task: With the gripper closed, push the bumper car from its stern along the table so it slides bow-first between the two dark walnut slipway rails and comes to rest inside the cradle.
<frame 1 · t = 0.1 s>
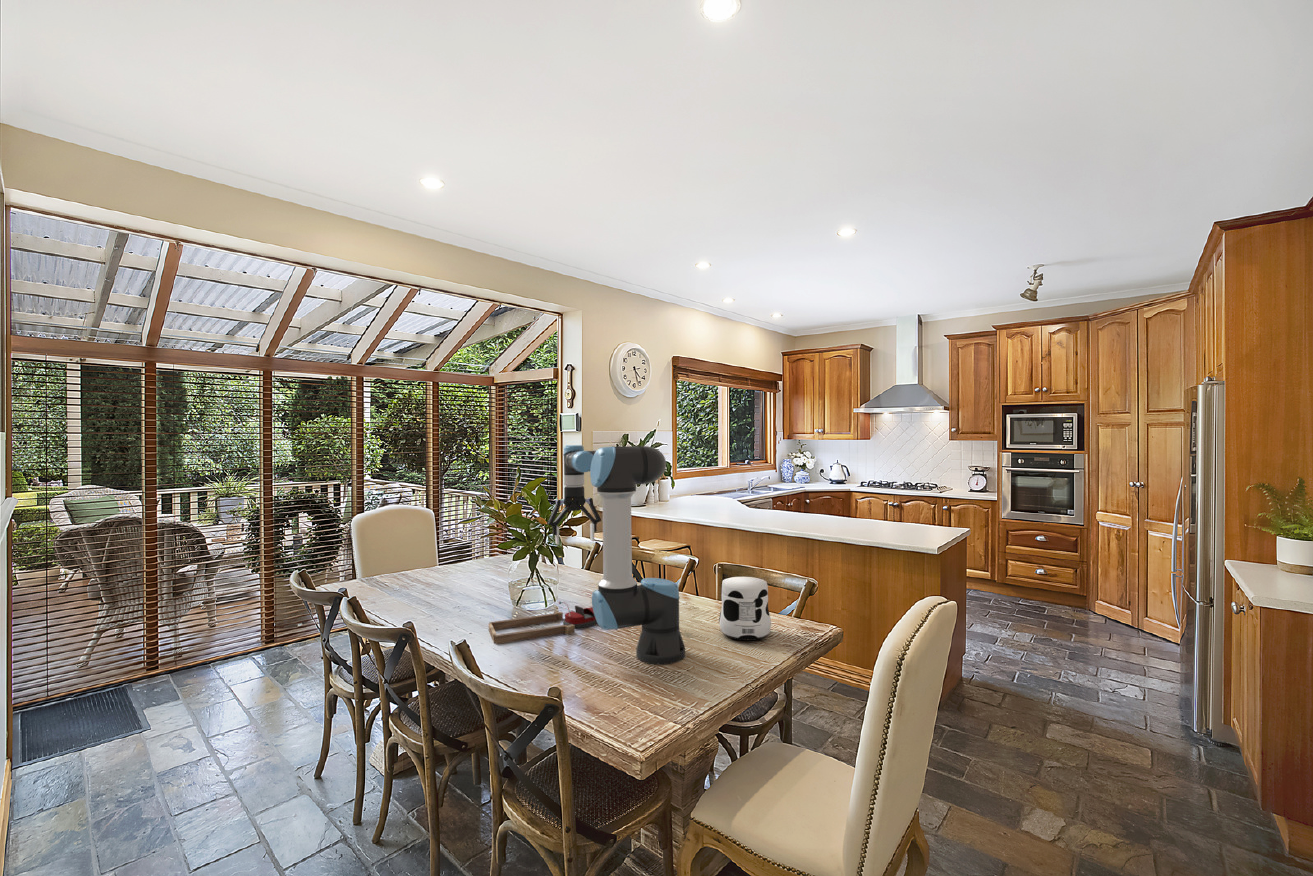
hand: (575, 542, 217), 28 cm above the table, fingers open, 13 cm apart
cradle: (533, 630, 202), on the table
bumper car: (583, 624, 209), on the table
milk container: (745, 635, 194), on the table
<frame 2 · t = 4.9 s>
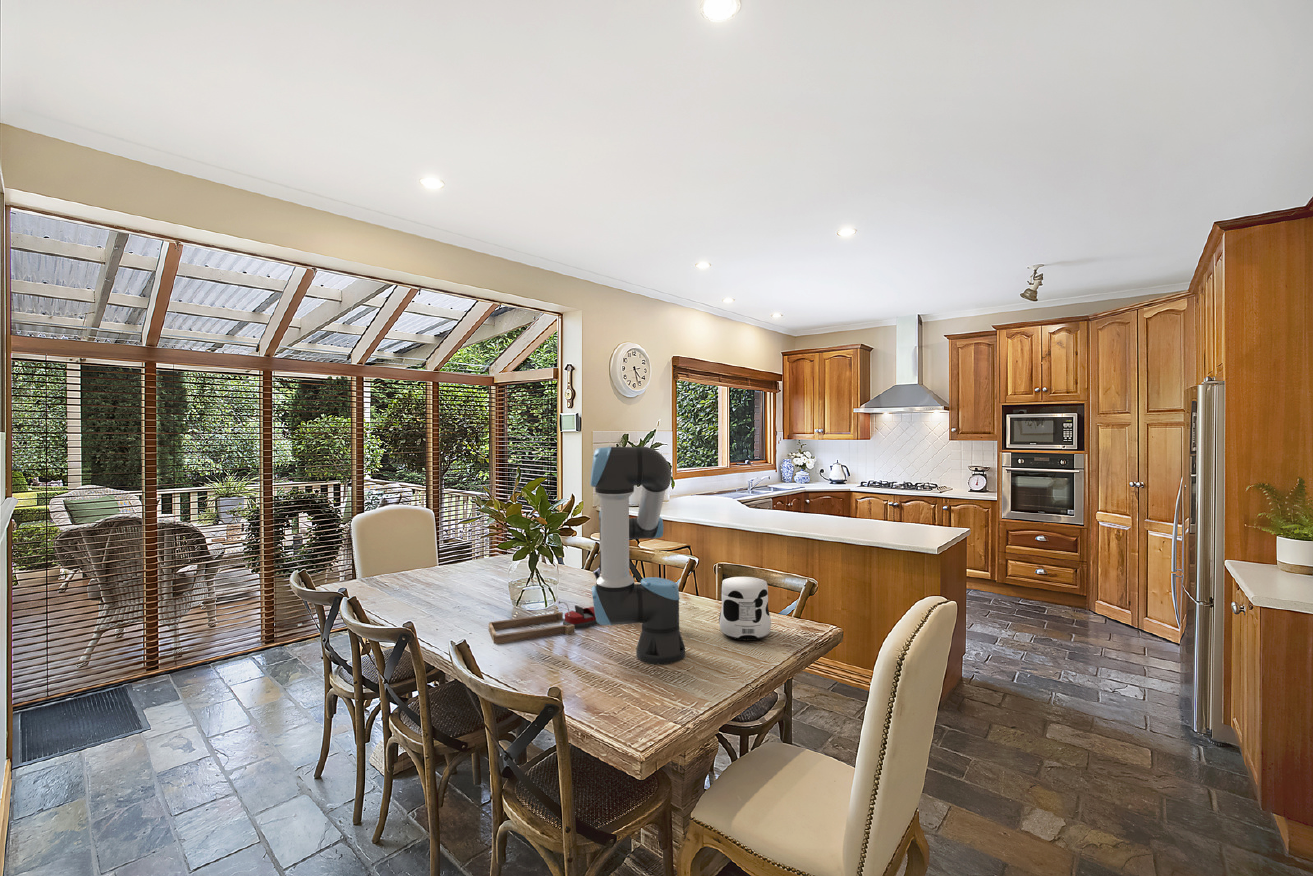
hand: (610, 614, 213), 2 cm above the table, fingers closed
bumper car: (583, 624, 209), on the table, touching gripper
everything else where it was.
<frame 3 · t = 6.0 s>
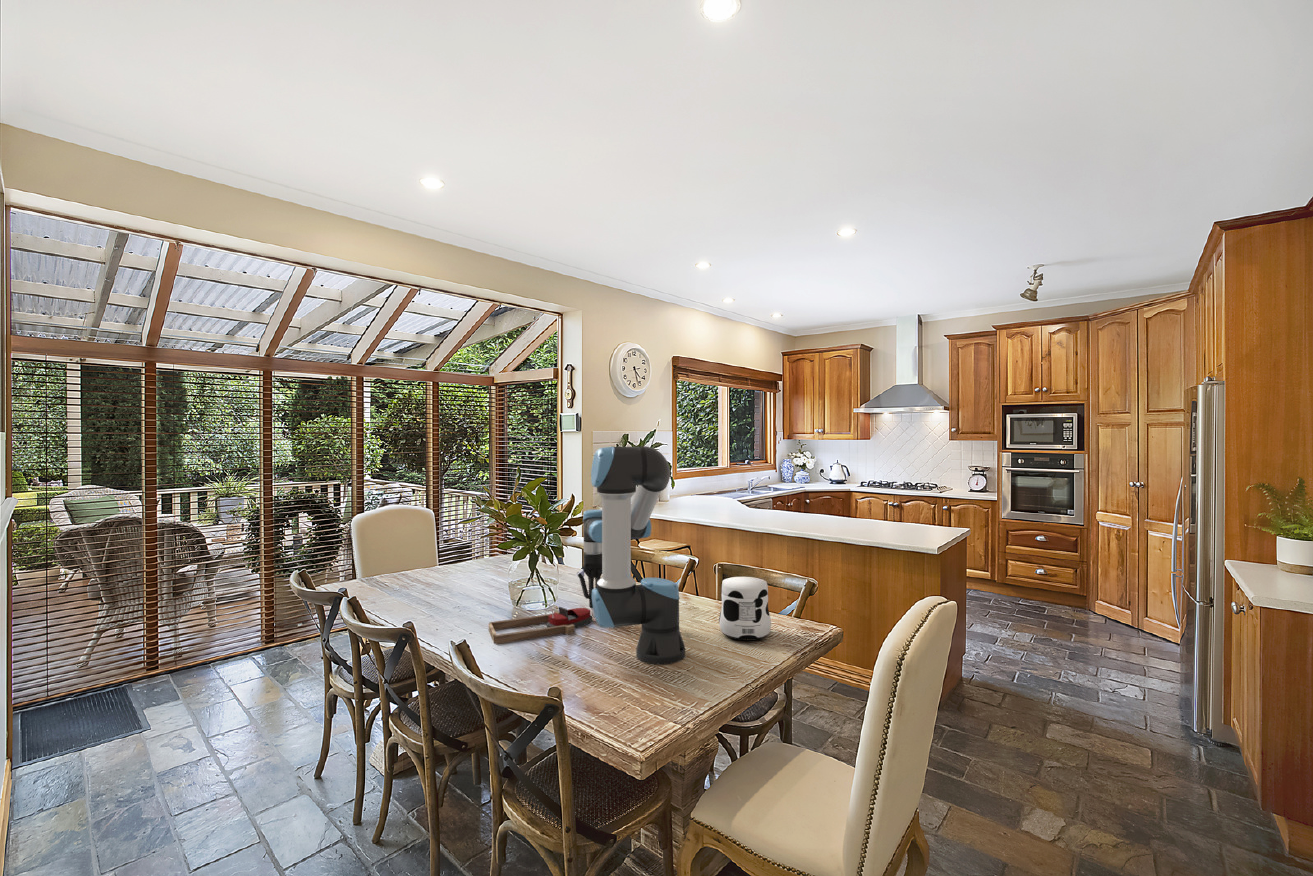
hand: (594, 616, 211), 2 cm above the table, fingers closed
bumper car: (567, 626, 207), on the table, touching gripper
everything else where it was.
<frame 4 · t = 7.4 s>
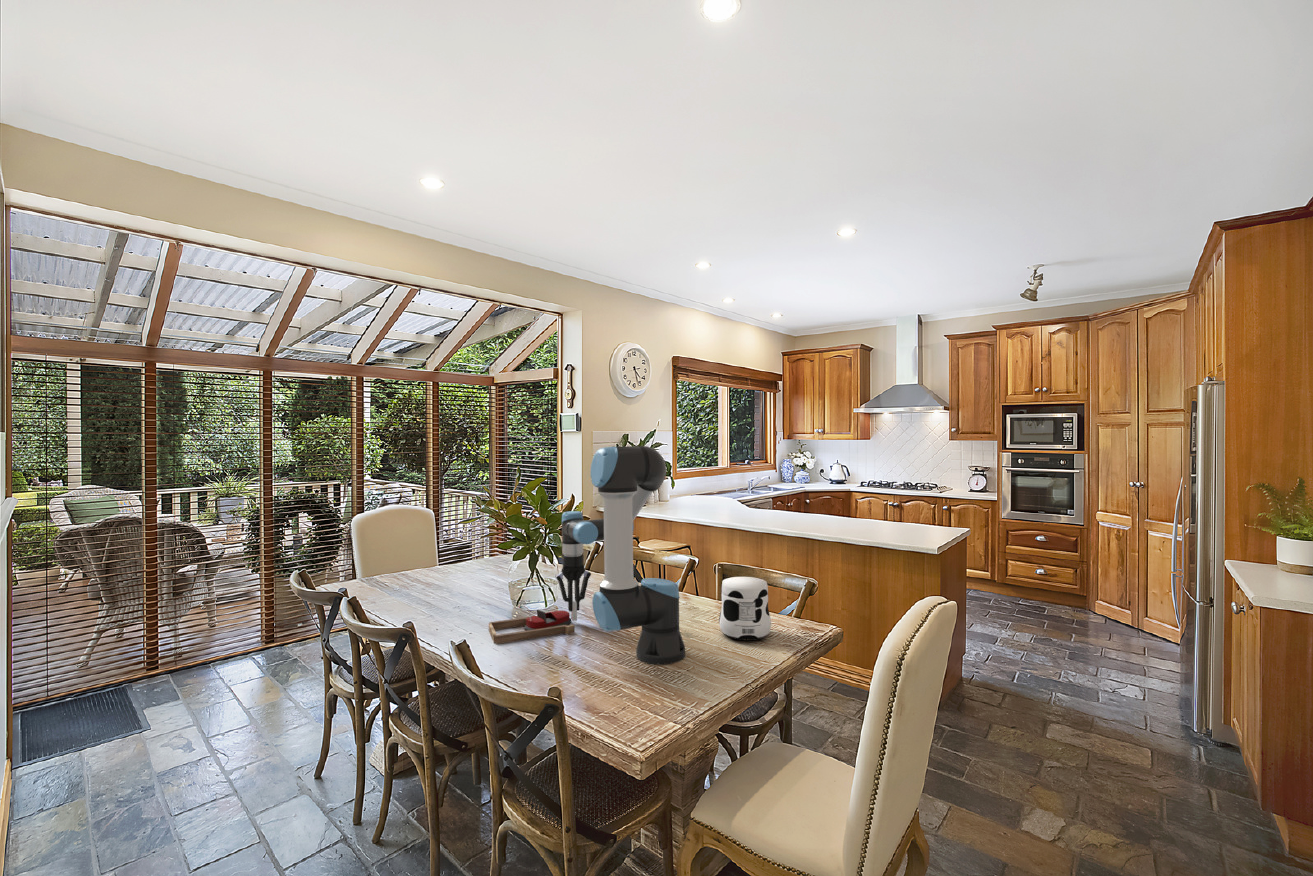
hand: (574, 619, 208), 2 cm above the table, fingers closed
bumper car: (545, 629, 204), on the table, touching gripper
everything else where it was.
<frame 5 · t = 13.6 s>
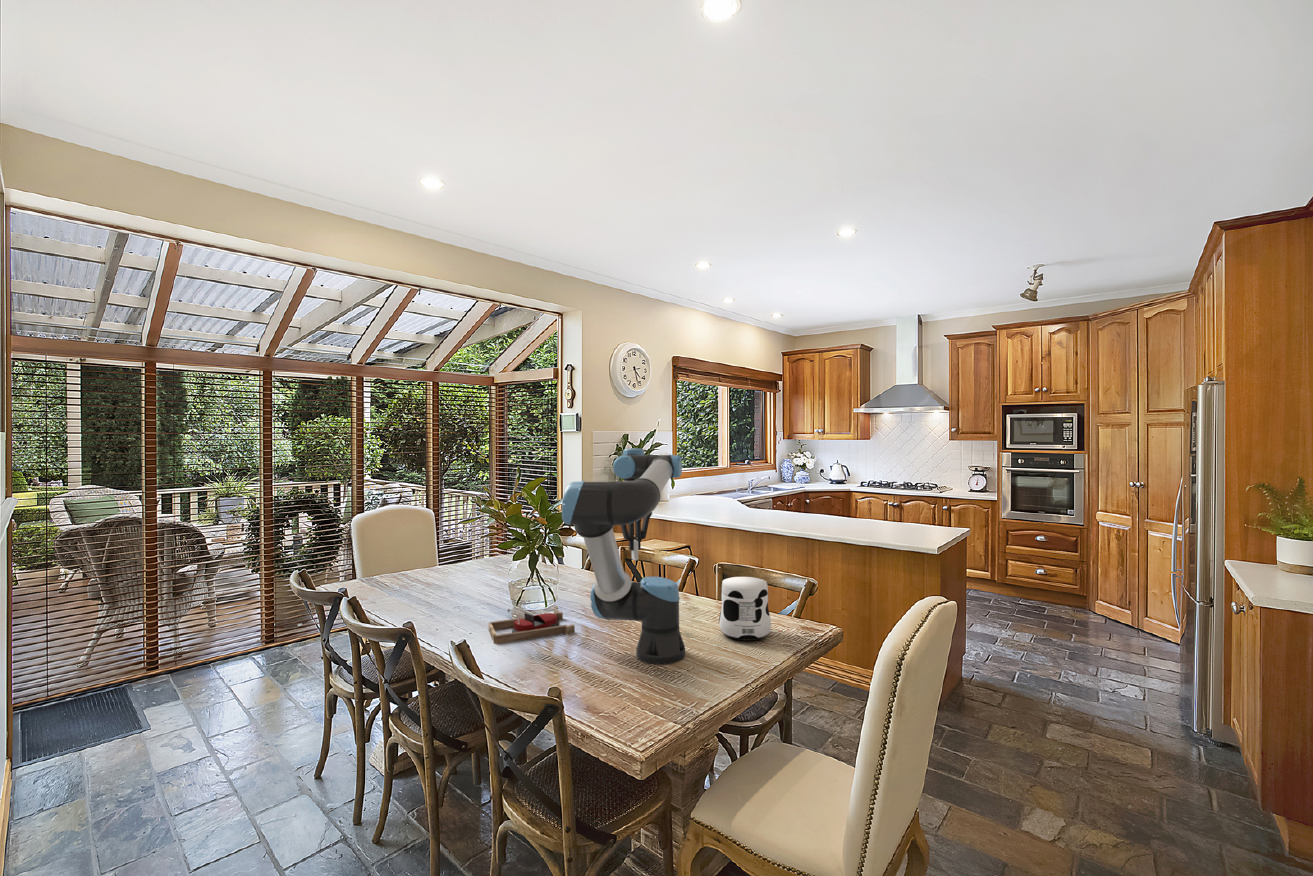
hand: (635, 559, 202), 24 cm above the table, fingers closed
bumper car: (533, 632, 201), on the table
everything else where it was.
at the end: bumper car inside the target area on the cradle (0.4 cm from its centre), point -0.5 cm above the cradle's base; bumper car moved 18.2 cm from its start; bumper car tilted 0° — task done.
